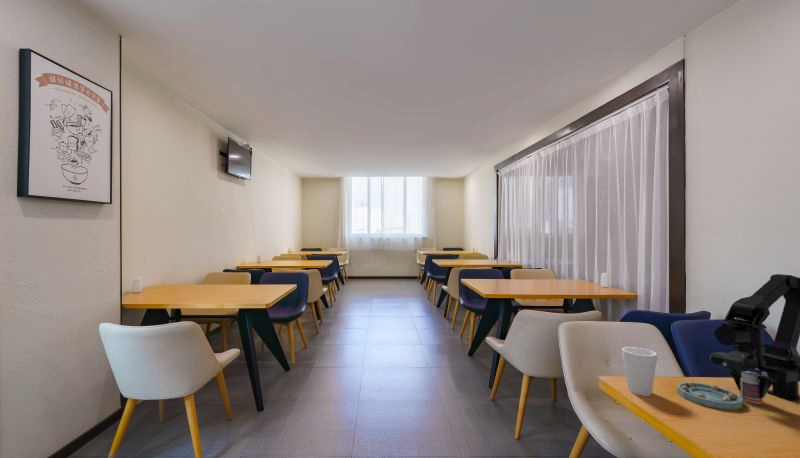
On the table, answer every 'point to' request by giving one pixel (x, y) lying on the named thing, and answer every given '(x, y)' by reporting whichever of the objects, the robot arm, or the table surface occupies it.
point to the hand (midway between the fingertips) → (751, 394)
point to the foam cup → (639, 369)
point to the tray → (709, 395)
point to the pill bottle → (750, 387)
